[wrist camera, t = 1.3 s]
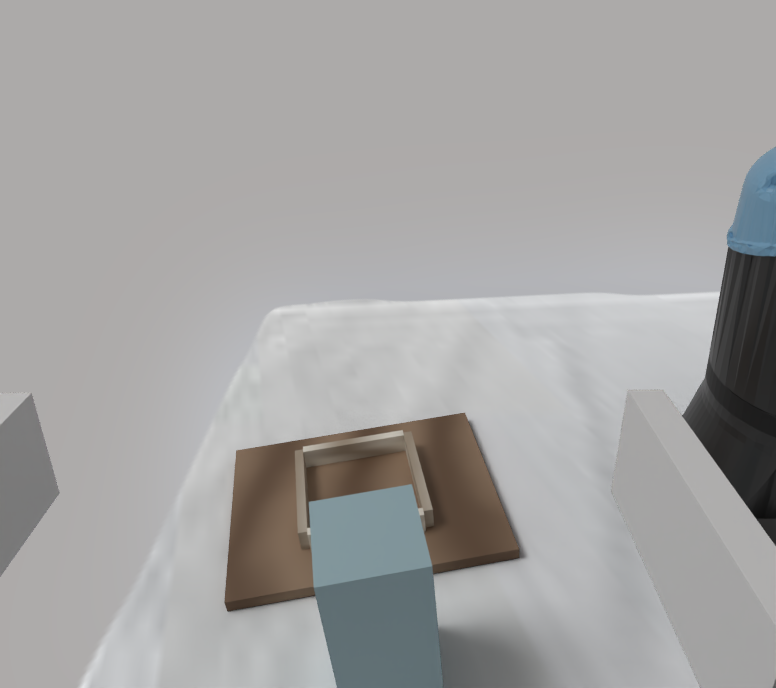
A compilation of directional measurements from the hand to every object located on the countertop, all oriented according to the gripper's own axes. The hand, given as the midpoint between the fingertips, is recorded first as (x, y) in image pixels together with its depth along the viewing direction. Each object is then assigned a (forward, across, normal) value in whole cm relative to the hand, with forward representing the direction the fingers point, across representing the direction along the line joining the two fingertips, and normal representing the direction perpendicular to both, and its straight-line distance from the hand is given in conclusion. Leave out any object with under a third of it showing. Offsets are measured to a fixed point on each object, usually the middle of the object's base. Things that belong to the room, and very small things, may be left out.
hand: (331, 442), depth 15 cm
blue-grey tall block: (+12, +1, -23) cm, 26 cm away
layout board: (+25, -1, -22) cm, 33 cm away
